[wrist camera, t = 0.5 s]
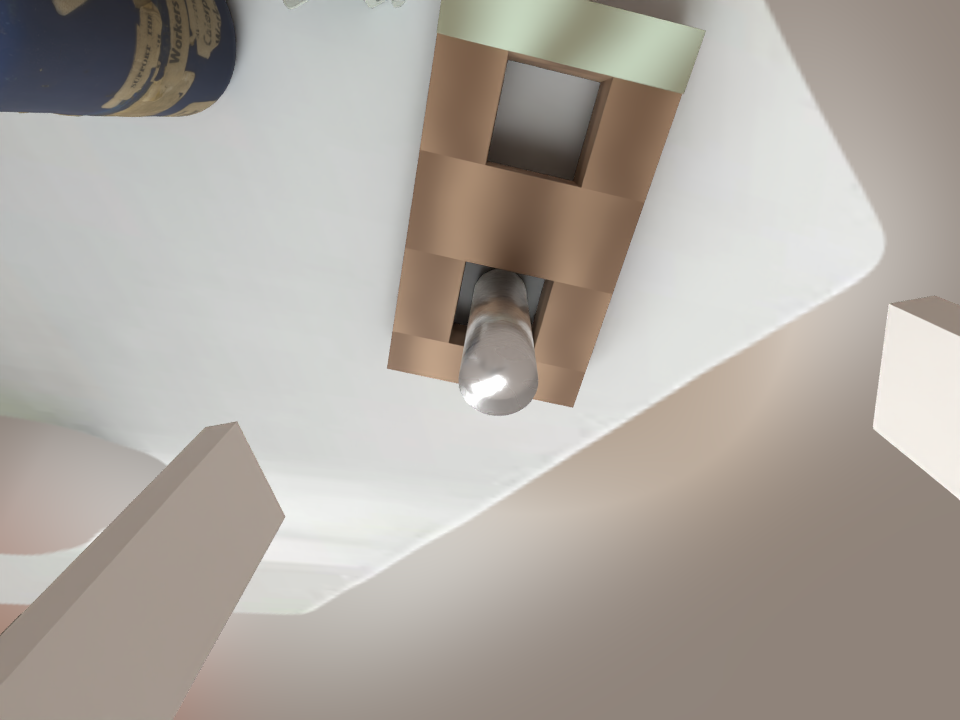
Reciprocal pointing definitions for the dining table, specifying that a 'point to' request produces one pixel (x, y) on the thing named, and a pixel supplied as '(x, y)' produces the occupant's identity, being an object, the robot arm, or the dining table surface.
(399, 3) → the metal bracket
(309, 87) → the dining table surface
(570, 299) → the pin plate
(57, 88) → the canister
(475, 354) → the steel pin
